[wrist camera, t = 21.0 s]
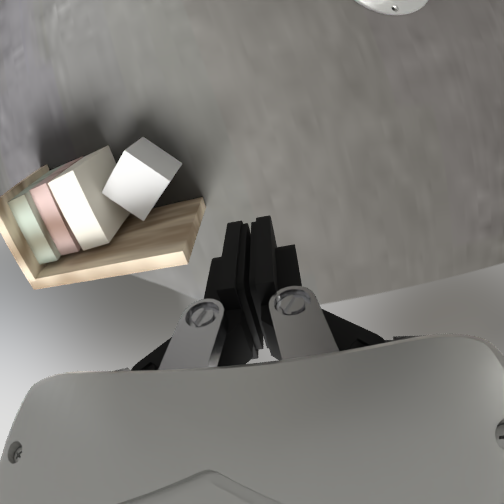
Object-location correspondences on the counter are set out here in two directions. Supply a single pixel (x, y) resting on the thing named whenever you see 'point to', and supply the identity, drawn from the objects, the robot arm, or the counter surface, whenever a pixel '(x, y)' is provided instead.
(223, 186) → the counter surface
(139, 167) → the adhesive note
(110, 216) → the white block
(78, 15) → the counter surface
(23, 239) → the wide wooden block
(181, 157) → the counter surface
